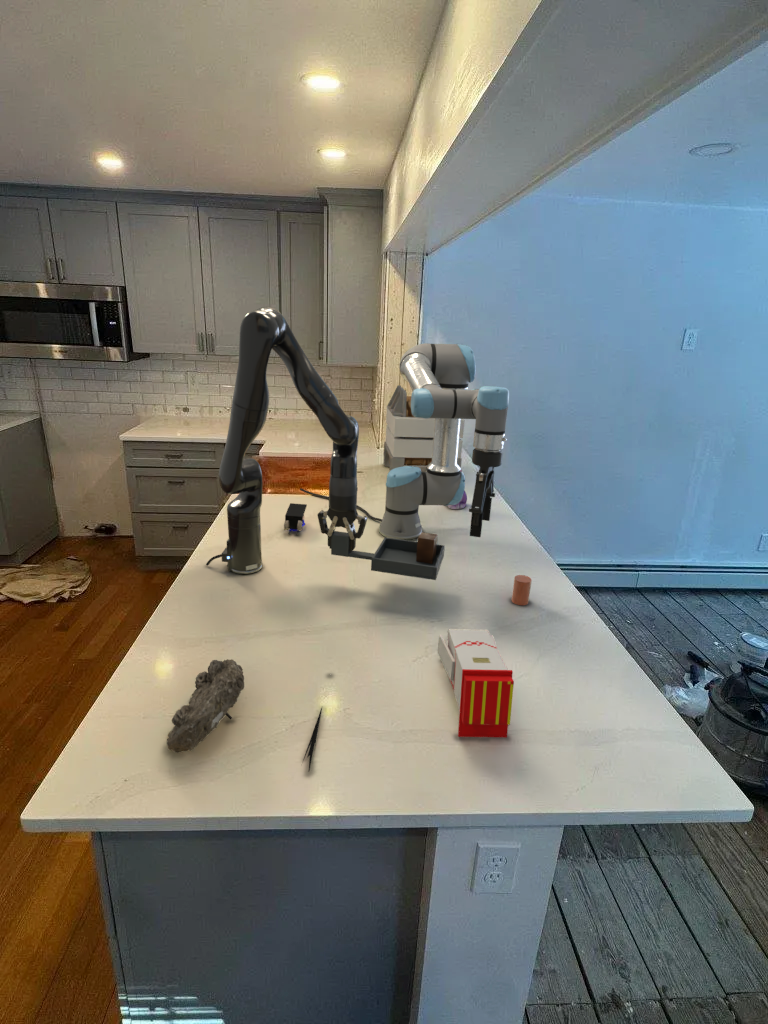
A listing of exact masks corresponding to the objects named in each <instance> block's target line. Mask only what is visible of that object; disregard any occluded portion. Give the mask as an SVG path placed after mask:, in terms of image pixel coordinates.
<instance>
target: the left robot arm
mask: <svg viewBox="0 0 768 1024" xmlns="http://www.w3.org/2000/svg"><path fill="white" fill-rule="evenodd" d="M294 334H295V333H294V332H293V331H292V328H291V327H290V325H289V324H288V321H287V320H286V318H285V316H283V314H282V313H281V312H280V311H279V310H278V309H276V308H274V307H272V306H262V307H259V308H257V309H254V310H251V311H249V312H248V313H247V314H245V316H244V317H243V318H242V320H241V323H240V327H239V344H238V365H237V371H236V376H235V383H234V389H233V395H232V401H231V408H230V415H229V423H228V429H227V435H226V442H225V444H224V445H225V446H224V449H223V453H222V455H221V456H222V457H221V461H220V464H219V470H218V483H219V486H220V488H221V490H222V492H224V493H225V494H228V495H237V496H236V497H235V498H233V499H232V500H231V501H229V503H228V504H227V506H226V515H227V517H226V518H227V533H228V538H227V540H226V547H225V548H224V549H223V551H222V552H221V553H220V554H216V555H214V556H213V557H211V558H209V560H208V561H207V562H206V563H205V566H209V565H210V564H211V563H212V562H213V561H215V560H216V559H218V558H221V562H222V563H227V571H228V572H232V573H234V574H238V575H250V574H255V573H257V572H259V571H261V570H262V568H263V558H262V531H261V530H262V529H261V528H262V527H261V507H262V505H263V471H262V468H261V465H260V463H259V462H258V460H257V459H255V458H253V457H245V456H246V454H247V451H248V450H249V449H250V446H251V445H252V443H253V442H254V441H255V440H256V439H257V437H258V435H259V434H260V433H261V431H262V430H263V428H264V427H265V425H266V421H267V417H268V412H269V405H270V390H269V386H268V380H267V370H268V366H269V365H268V364H269V361H270V356H271V352H272V351H273V352H275V354H277V356H278V357H279V358H280V359H281V361H282V362H283V364H284V366H285V368H286V370H287V372H288V373H289V376H290V378H291V381H292V383H293V385H294V387H295V389H296V391H297V393H298V395H299V397H300V398H301V399H302V401H304V403H305V404H306V405H307V407H308V408H309V409H310V410H311V412H312V413H313V414H314V415H315V417H316V418H317V419H318V421H319V423H320V425H321V427H322V428H323V430H324V431H325V433H326V435H327V436H328V438H330V440H331V441H332V453H331V457H330V463H329V465H330V466H329V467H330V469H329V470H330V472H329V480H328V481H329V482H328V497H329V499H328V508H327V510H323V509H322V510H320V511H319V512H318V513H317V519H318V524H319V529H320V533H321V534H325V535H326V536H327V546H328V547H329V549H330V550H331V540H332V534H333V533H334V531H336V529H337V528H343V529H345V530H346V533H349V536H350V539H349V551H350V552H352V551H355V548H356V546H357V545H356V544H357V543H356V542H357V539H361V538H362V536H363V535H364V532H365V528H366V525H367V522H368V516H367V515H364V516H362V515H359V513H358V510H357V509H358V508H357V506H358V503H357V502H358V491H359V489H358V475H357V474H358V455H357V454H358V446H359V437H360V425H359V422H358V421H357V419H356V418H355V417H354V416H352V415H351V414H346V413H345V412H344V410H343V409H342V407H341V406H340V404H339V400H338V398H337V397H336V395H335V393H333V391H332V390H331V388H330V387H329V385H327V383H326V382H325V380H324V379H323V378H322V376H321V375H320V374H319V372H318V371H317V370H316V368H315V367H314V365H313V363H311V361H310V359H309V358H308V357H307V355H306V353H305V351H304V349H303V348H302V347H301V345H300V343H299V341H298V339H297V338H296V336H295V335H294ZM327 518H329V520H330V521H331V523H330V525H329V527H328V522H327ZM356 520H357V524H358V530H357V531H356V526H355V523H354V522H355V521H356Z"/></svg>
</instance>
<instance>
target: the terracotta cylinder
mask: <svg viewBox="0 0 768 1024" xmlns="http://www.w3.org/2000/svg"><path fill="white" fill-rule="evenodd" d="M513 578H514V579H513V587H512V593H511V602H512V603H513V604H515V605H517V606H528V604H529V600H530V594H531V587H532V581H533V580H532V578H531V577H530V576H528V575H524V574H516V575H515V576H514V577H513Z"/></svg>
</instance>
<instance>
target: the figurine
mask: <svg viewBox="0 0 768 1024" xmlns="http://www.w3.org/2000/svg"><path fill="white" fill-rule="evenodd" d="M460 472H462V473H463V470H462V469H461V471H460ZM467 495H468V494H467V492H466V491H465V490H464V493H463V496H462V499H461V501H460V502H459V503H458V504H456V505H447V506H446V507H448V509H452V510H460V509H464V508H465V507H466V506H467V502H468V496H467Z"/></svg>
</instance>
